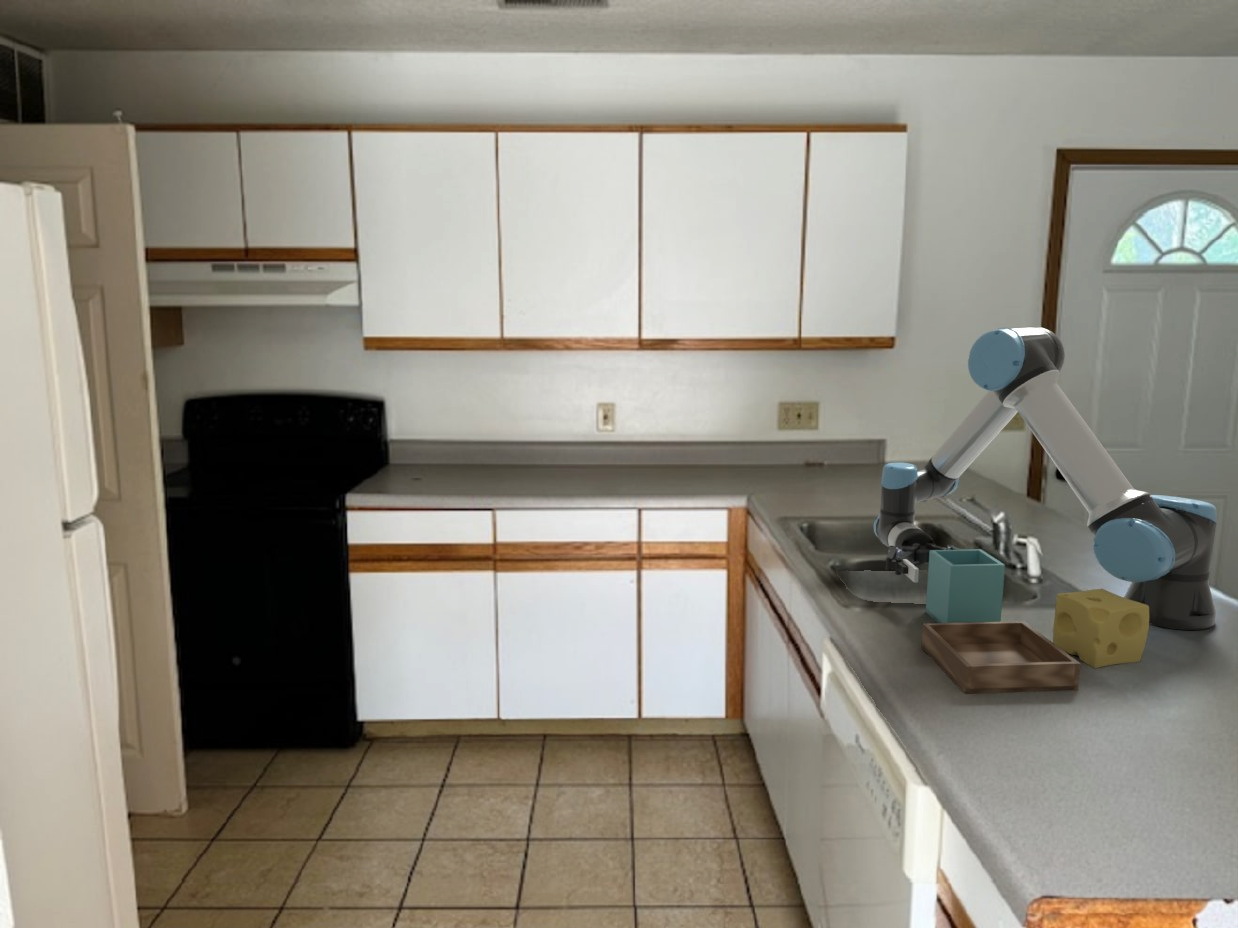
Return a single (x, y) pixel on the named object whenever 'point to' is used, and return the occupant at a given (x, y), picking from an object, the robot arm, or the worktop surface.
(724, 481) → the worktop surface
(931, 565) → the teal crate
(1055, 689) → the walnut crate
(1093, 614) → the cheese
